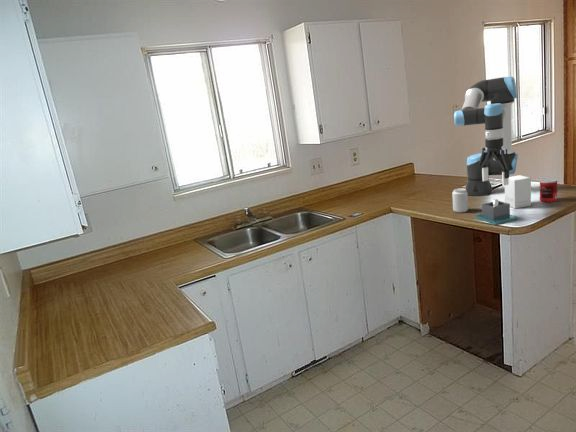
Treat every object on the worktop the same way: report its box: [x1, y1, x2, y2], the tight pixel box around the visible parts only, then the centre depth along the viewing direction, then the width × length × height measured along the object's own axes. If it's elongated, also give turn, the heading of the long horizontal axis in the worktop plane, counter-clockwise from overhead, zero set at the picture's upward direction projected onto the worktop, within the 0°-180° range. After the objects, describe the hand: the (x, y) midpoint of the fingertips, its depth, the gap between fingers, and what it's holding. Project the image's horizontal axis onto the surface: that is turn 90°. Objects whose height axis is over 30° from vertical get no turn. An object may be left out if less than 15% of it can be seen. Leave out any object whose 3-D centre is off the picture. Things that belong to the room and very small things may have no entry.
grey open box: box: [481, 200, 511, 220], centre depth 206 cm, size 8×9×6 cm
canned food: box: [539, 177, 558, 203], centre depth 220 cm, size 8×8×11 cm
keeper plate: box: [475, 199, 518, 226], centre depth 206 cm, size 14×12×10 cm
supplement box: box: [504, 174, 532, 209], centre depth 220 cm, size 9×9×15 cm
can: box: [451, 187, 469, 214], centre depth 225 cm, size 8×8×12 cm
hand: (495, 182), depth 202 cm, fingers open, 13 cm apart
